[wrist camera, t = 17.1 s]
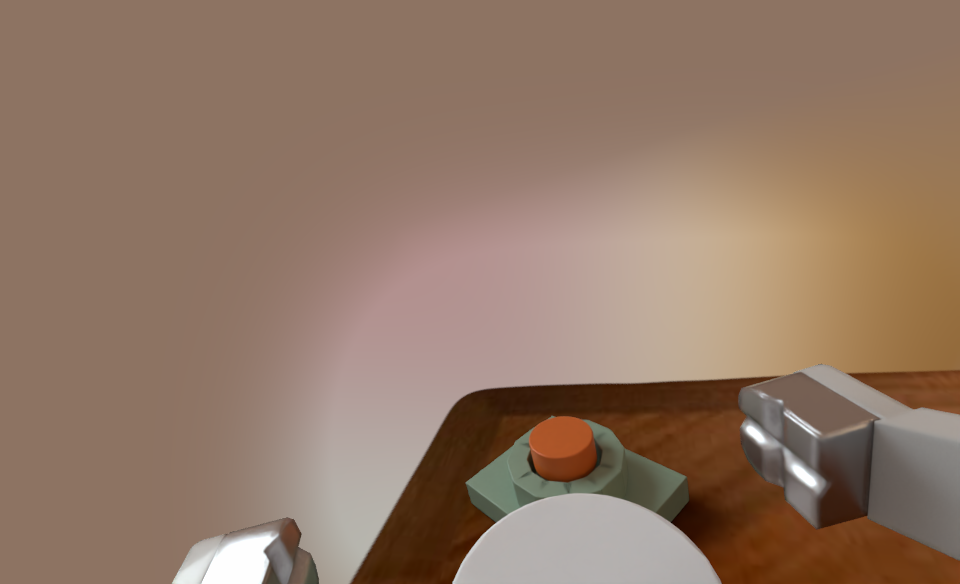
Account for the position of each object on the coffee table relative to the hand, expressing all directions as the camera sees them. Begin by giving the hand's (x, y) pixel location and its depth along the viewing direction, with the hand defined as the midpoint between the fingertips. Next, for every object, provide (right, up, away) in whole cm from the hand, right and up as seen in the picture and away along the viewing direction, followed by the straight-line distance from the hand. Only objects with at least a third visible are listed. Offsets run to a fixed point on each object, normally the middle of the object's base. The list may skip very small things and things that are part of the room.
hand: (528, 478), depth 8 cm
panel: (+5, -9, +20) cm, 22 cm away
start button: (+4, -6, +19) cm, 20 cm away
